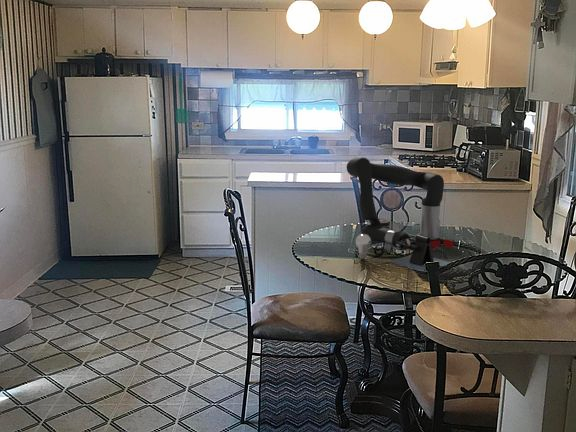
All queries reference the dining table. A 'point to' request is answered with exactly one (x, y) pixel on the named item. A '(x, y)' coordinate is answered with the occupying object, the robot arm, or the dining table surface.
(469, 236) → the dining table surface
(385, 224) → the jar
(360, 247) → the light bulb
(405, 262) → the tray
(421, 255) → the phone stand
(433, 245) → the glasses
